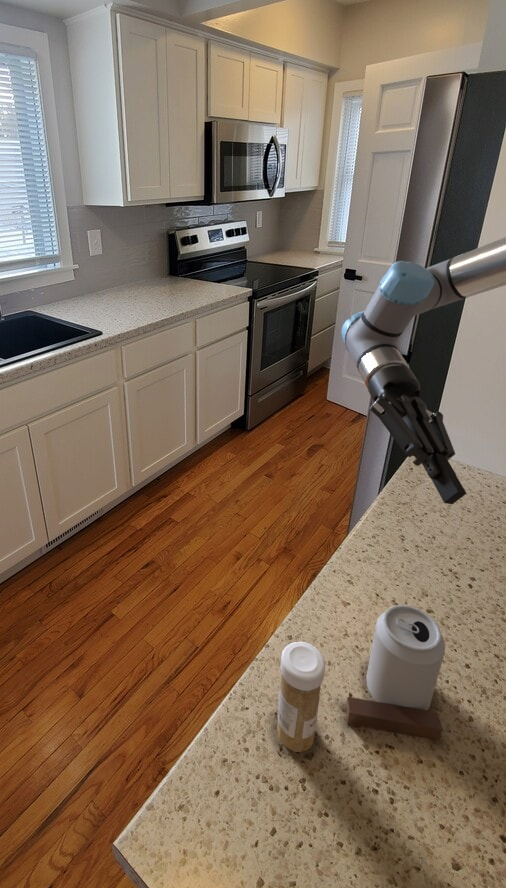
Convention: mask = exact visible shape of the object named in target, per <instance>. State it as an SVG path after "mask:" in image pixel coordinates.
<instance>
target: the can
mask: <svg viewBox="0 0 506 888" xmlns="http://www.w3.org/2000/svg"><path fill="white" fill-rule="evenodd" d="M370 649H371V650H370V656H369V660H368V666H367V671H366V675H365V679H366V686H367V689H368V691H369V694H370V696H371V697H372V698H373V700H374V701H376V702H382V703H387V704H393V705H399V706H405V707H411V708H416V709H422V710H428V711H429V708H430V707H431V703H432V700H433V696H434V693H435V689H436V686H437V682H438V678H439V674H440V671H441V667H442V664H443V660H444V657H445V651H446V643H445V640H444V637H443V634H442V631H441V629H440V626H439V624H438V623H437V622H436V620H435V619H434V618H433V617H431V616H430V615H429V613H427V612H425V611H424V610H421V609H420V608H417V607H415V606H412V605H408V604H407V605H405V604H398V605H393V606H390V607H388V609H386V610H385V612H382V613H381V614H380V616H378V618H377V620H376V623H375V628H374V635H373V640H372V645H371V648H370Z"/></svg>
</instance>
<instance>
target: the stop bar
mask: <svg viewBox="0 0 506 888" xmlns="http://www.w3.org/2000/svg"><path fill="white" fill-rule="evenodd" d="M344 708H345V717H346V718H345V719H346V724H347V725H348V726H349V725H351V726H354V727H361V728H367V729H372V730H376V731H377V730H378V731H382V732H388V733H395V734H399V735H406V736H411V737H415V738H416V737H417V738H420V739H421V738H422V739H427V740H433V741H437V742H438V741H440V737H441V735H442V731H443V728H442V724H441V721H440V718H439V717H440V716H439V714H438V711H433V710H429V709H428V710H422V709H416V708H411V707H405V706H399V705H393V704H387V703H382V702H376V700H370V699H363V698H357V697H351V696H346V701H345V707H344Z"/></svg>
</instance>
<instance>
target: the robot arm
mask: <svg viewBox="0 0 506 888" xmlns="http://www.w3.org/2000/svg"><path fill="white" fill-rule="evenodd" d="M504 286H506V236H505V237H502V238H500V239H498V240H497V239H496V240H495V241H493V242H490V243H488V244H484V245H482V246H479V247H477V248H475V249H472V250H470V251H467V252H465V253H462V254H460V255H457V256H454V257H452V258H449V259H447V260H444V261H442V262H438V263H436V264H434V265H431V266H429V267H426V268H425V267H424V266H422V265H420V264H418V263H415V262H412V261H406V260H399V261H396V262H394V263H393V264H392V265H391V266H390V267H389V269H388V270H387V272H386V273H385V274H384V276H382V278H381V279H380V281H379V284H378V287H377V288H376V290H375V292H374V293H373V296H372V297H371V299H370V301H369V302H368V304H367V305H366V307H365V309H364V311H360V312H356V313H354V314H352V315H351V317H350V318H347V319H346V320H345V321H344V323H343V324H342V327H341V337H342V340H343V343H344V347H345V349H346V351H347V353H349V355H350V357H351V359H352V361H353V363H354V364H355V367H356V369H357V370H358V373H359V374H360V376H361V378H362V381H363V383H364V385H365V386H366V388H367V391H368V393H369V396H370V398H371V399H372V401H373V403H372V405H370V406H369V410H370V411H371V412H372V413H373V414H374V415H375V416H376V417H377V418H378V419H379V420H380V421H381V423H382V424H383V426H384V427H385V428H386V431H388V433H389V434H390V435H391V437H392V438H393V440H394V441H395V443H396V444H397V446H399V448H400V449H401V451H402V452H403V453H404V455H405V456H406V457H408V458H412V457H414V458H415V459H414V460H413V461H412V463H413V464H414V466H417V467H420V465H422V467H423V469H424V470H425V472H426V474H427V476H428V477H429V478H430V479H431V481H432V483H433V485H434V487H435V489H436V491H437V492H438V494H439V496H440V499H441V500H442V502H443V503H444V504H447V505H454V504H455V503H456V502H458V501H459V500H460V499H461V498H463V497H464V496H465V495H466V494H467V492H466V489H465V488H464V486H463V485H462V483H461V481H460V479H459V478H458V476H457V474H456V472H455V470H454V469H453V466H452V465H451V463H450V462H449V460H450V459H452V458H453V457H454V456H455V455H456V452H455V449H454V446H453V444H452V442H451V441H452V440H451V439H450V436H449V434H448V431H447V428H446V426H445V424H444V414H443V413H442V412H440V411H436V412H432V411H430V410H428V407H427V404H426V403H425V402H424V401H423V400H422V399H421V398H420V392H421V384H420V382H419V381H418V379H417V377H416V376H415V374H414V372H413V371H412V369H411V368H410V366H409V364H408V362H407V361H406V359H405V358H404V357H403V355H402V353H401V352H400V349H398V346H397V345H396V343H397V341H398V339H399V338H400V337H401V335H403V332H405V329H406V328H407V327H408V325H409V324H410V323H411V321H412V320H413V318H414V317H416V316H418V315H421V314H424V313H425V312H429V311H431V310H434V309H436V308H437V309H438V308H440V307H443V306H447V305H450V304H453V303H455V302H458V301H462V300H465V299H467V298H470V297H473V296H476V295H478V294H482V293H485V292H490V291H492V290H495V289H499V288H502V287H504Z"/></svg>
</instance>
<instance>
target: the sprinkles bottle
mask: <svg viewBox="0 0 506 888" xmlns="http://www.w3.org/2000/svg"><path fill="white" fill-rule="evenodd" d="M280 657H281V658H280V666H279V667H280V673H281V675H280V676H281V677H280V682H279V690H278V691H279V692H278V703H277V705H278V706H277V727H276V731H277V736H278V738H279V741H280V743H282V744H283V746H284V747H285V748H287V749H288V750H290V751H292V752H294V753H303V752H307V751H308V750H310V749H311V747H312V746H313V744H314V741H315V735H316V728H317V723H318V714H319V707H320V706H319V705H320V695H321V694H320V693H321V688H322V687H321V686H322V683H323V681H324V679H325V670H326V662H325V659H324V656H323V654H322V653H321V652H320V651H319V650H318V648H317V647H315V646H314V645H312V644H310V643H308V642H304V641H294V642H291V643H288V644H287V645H286V646H285V647H284V648H283V650H282V652H281V656H280Z"/></svg>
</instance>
